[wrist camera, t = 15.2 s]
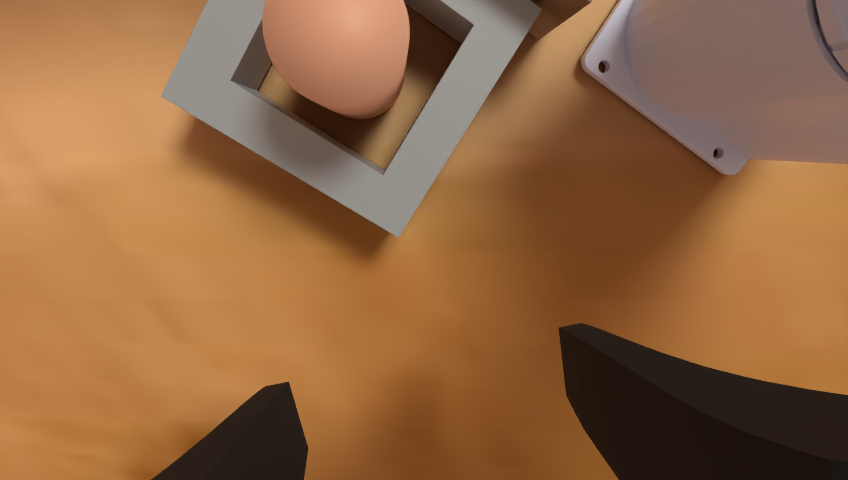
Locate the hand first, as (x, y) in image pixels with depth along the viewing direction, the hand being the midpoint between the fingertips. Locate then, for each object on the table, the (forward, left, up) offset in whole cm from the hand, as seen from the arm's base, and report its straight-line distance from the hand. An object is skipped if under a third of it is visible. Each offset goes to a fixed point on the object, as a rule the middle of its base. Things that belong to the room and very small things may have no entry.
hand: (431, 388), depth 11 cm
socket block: (+7, -7, -10) cm, 14 cm away
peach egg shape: (+7, -7, -10) cm, 14 cm away
